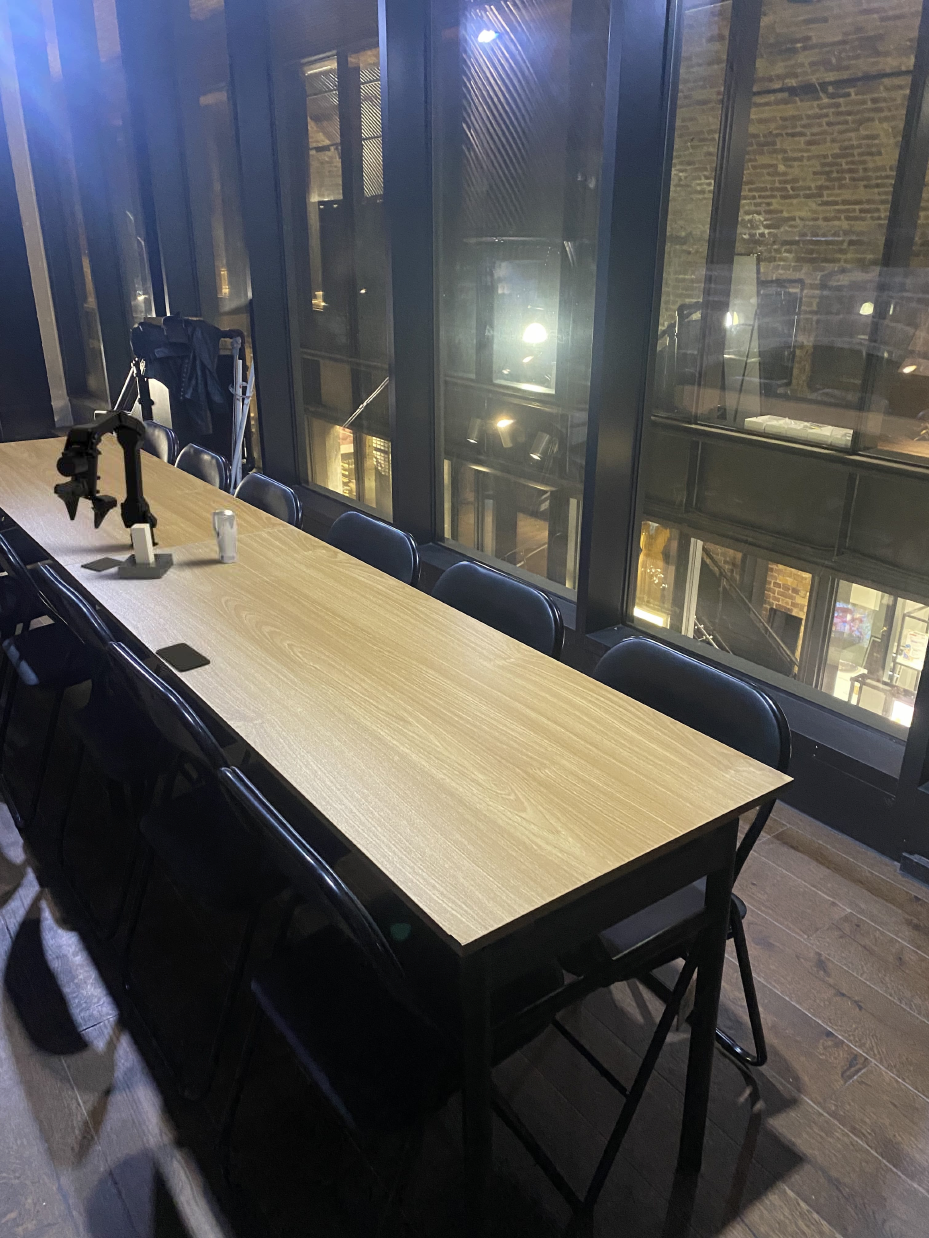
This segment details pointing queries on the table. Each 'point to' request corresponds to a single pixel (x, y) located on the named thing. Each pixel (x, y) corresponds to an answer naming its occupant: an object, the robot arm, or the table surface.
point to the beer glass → (225, 535)
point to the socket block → (145, 567)
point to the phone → (183, 657)
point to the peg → (142, 543)
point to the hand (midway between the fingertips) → (84, 524)
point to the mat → (102, 564)
